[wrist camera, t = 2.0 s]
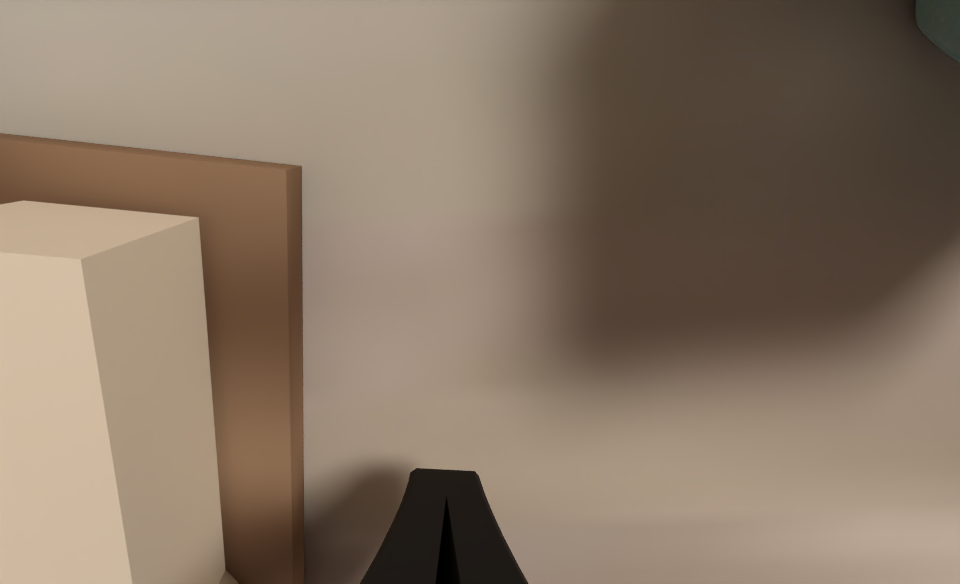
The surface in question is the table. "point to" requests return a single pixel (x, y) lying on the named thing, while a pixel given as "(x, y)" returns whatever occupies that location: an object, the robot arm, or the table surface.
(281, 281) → the hinge board
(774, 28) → the table surface
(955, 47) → the flower pot
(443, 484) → the robot arm
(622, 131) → the table surface
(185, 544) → the link
